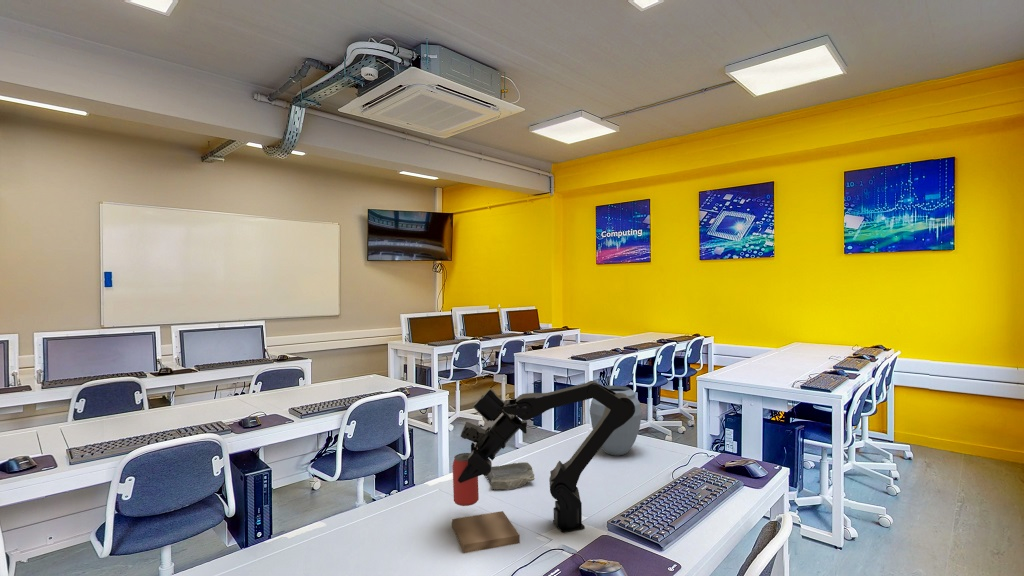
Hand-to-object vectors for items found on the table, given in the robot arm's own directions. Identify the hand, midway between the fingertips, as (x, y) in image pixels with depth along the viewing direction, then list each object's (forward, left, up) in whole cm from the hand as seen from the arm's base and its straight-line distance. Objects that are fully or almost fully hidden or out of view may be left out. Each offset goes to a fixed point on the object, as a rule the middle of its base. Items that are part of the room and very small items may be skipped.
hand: (460, 476), depth 131 cm
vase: (-69, -37, -13) cm, 79 cm away
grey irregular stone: (-22, -25, -13) cm, 36 cm away
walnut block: (-5, +7, -13) cm, 16 cm away
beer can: (-1, +1, -7) cm, 7 cm away
